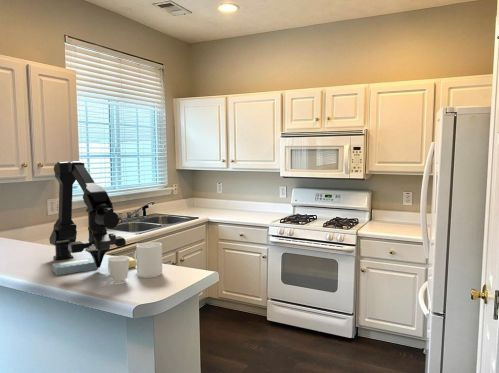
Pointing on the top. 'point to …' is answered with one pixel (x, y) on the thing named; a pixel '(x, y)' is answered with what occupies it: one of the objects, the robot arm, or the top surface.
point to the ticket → (73, 266)
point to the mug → (149, 259)
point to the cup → (118, 268)
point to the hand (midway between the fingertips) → (98, 267)
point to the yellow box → (132, 262)
